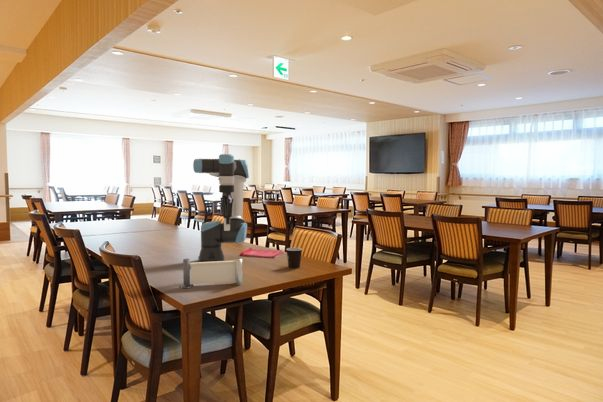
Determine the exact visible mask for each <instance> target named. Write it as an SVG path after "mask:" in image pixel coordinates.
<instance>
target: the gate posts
mask: <svg viewBox="0 0 603 402" xmlns="http://www.w3.org/2000/svg"><path fill="white" fill-rule="evenodd" d="M235 259H236V283H235V285H236V286H243V258H235ZM194 285H195V284H191V283H190V285H187V286H185V285H184V283H183V284H181V285H179V288H180V287H182V288H181V289H189V288H188V287H191V288H194Z"/></svg>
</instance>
